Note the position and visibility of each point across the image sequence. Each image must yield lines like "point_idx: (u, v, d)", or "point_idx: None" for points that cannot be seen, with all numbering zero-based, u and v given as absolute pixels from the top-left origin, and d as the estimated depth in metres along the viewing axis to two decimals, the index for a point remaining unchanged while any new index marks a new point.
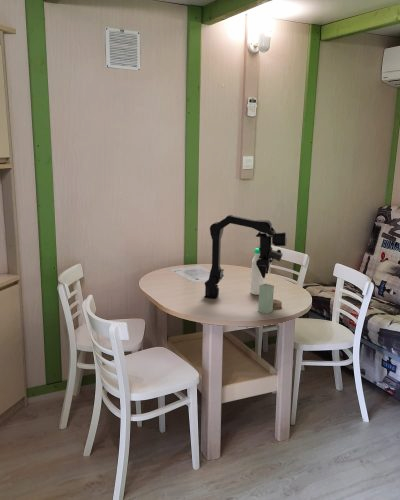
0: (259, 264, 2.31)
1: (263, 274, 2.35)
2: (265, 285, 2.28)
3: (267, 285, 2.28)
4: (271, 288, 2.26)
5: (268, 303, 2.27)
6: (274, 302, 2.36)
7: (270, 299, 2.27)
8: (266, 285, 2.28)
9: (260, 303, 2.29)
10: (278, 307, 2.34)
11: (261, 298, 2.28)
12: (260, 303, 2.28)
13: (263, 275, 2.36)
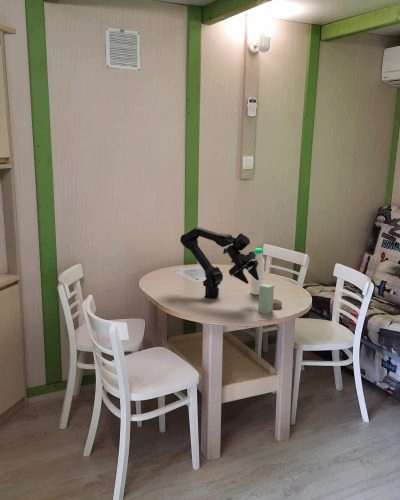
0: (231, 273, 2.29)
1: (244, 280, 2.29)
2: (265, 285, 2.28)
3: (267, 285, 2.28)
4: (271, 288, 2.26)
5: (268, 303, 2.27)
6: (274, 302, 2.36)
7: (270, 299, 2.27)
8: (266, 285, 2.28)
9: (260, 303, 2.29)
10: (278, 307, 2.34)
11: (261, 298, 2.28)
12: (260, 303, 2.28)
13: (246, 281, 2.29)
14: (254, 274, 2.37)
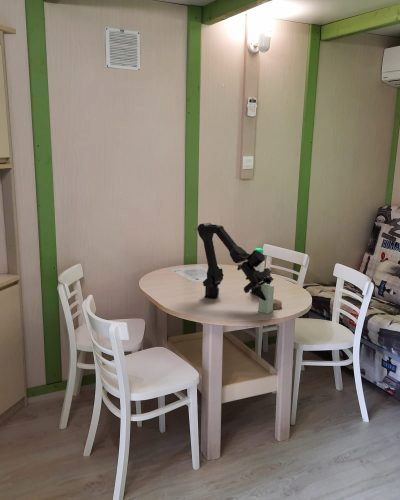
0: (246, 290, 2.24)
1: (262, 297, 2.26)
2: (265, 285, 2.28)
3: (267, 285, 2.28)
4: (271, 288, 2.27)
5: (269, 303, 2.27)
6: (274, 302, 2.36)
7: (270, 299, 2.27)
8: (266, 285, 2.28)
9: (260, 303, 2.29)
10: (278, 307, 2.34)
11: None
12: (260, 302, 2.28)
13: (263, 298, 2.26)
14: None
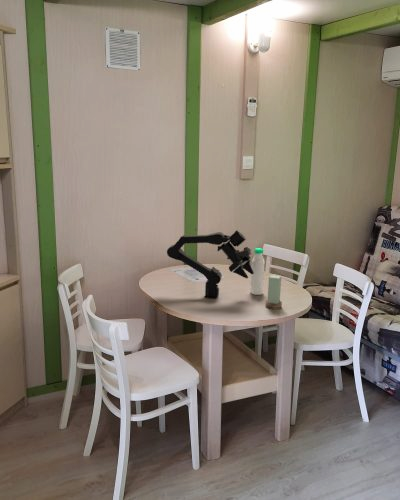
0: (232, 269, 2.35)
1: (244, 275, 2.38)
2: (273, 276, 2.34)
3: (275, 276, 2.35)
4: (280, 279, 2.34)
5: (278, 294, 2.34)
6: None
7: (279, 289, 2.35)
8: (274, 276, 2.34)
9: (269, 295, 2.35)
10: (278, 307, 2.34)
11: (271, 289, 2.34)
12: (270, 294, 2.34)
13: (245, 276, 2.38)
14: (249, 268, 2.47)
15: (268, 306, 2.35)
